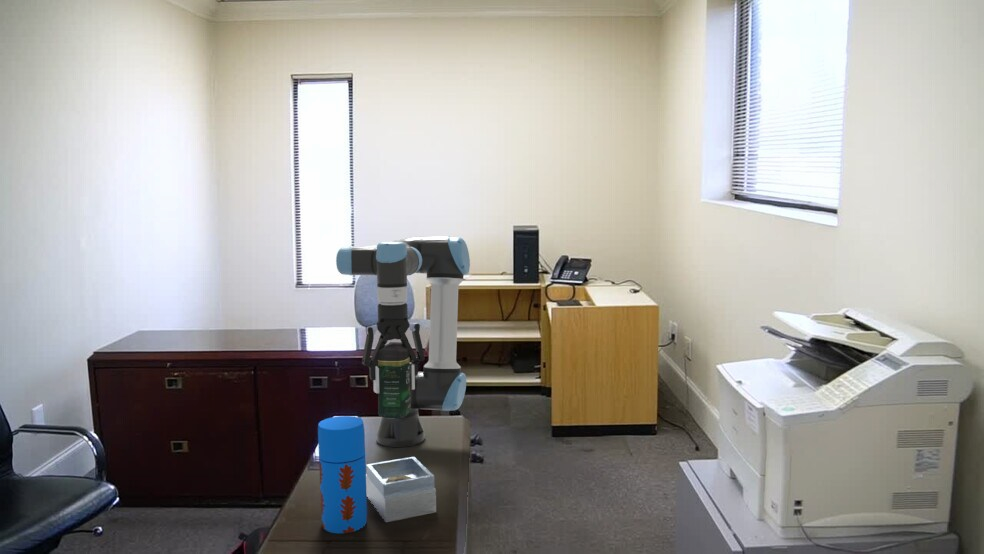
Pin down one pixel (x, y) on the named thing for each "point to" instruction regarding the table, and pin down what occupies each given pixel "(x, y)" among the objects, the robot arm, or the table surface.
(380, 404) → the coffee jar
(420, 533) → the table surface
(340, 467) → the thermos
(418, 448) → the table surface
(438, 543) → the table surface
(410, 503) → the open grey metal box
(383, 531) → the table surface
